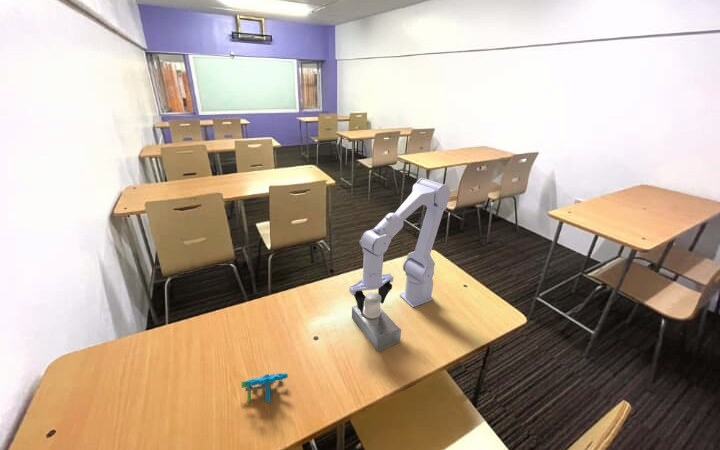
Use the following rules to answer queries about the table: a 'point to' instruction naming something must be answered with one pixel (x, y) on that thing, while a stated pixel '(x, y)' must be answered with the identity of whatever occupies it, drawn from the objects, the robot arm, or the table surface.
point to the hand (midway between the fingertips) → (370, 305)
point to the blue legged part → (262, 380)
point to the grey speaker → (377, 329)
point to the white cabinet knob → (372, 305)
